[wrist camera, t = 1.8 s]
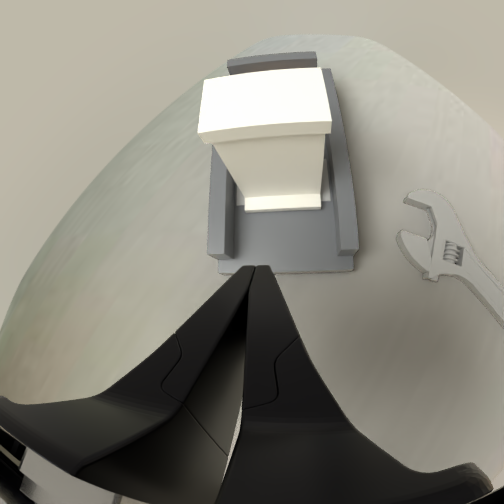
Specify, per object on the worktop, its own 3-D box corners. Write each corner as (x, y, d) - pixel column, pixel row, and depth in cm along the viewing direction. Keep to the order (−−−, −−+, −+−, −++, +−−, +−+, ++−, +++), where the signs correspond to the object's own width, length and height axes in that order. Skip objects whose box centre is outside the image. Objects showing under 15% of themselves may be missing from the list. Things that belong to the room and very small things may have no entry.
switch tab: (323, 209, 20) (334, 134, 11) (243, 213, 22) (196, 145, 12) (317, 151, 21) (319, 59, 12) (244, 155, 22) (205, 71, 13)
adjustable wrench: (546, 355, 15) (555, 356, 13) (516, 404, 15) (525, 408, 13) (418, 185, 21) (425, 177, 20) (377, 235, 21) (383, 230, 20)
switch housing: (350, 271, 21) (364, 261, 16) (223, 275, 23) (198, 265, 17) (327, 89, 24) (328, 50, 19) (229, 97, 26) (214, 61, 21)
